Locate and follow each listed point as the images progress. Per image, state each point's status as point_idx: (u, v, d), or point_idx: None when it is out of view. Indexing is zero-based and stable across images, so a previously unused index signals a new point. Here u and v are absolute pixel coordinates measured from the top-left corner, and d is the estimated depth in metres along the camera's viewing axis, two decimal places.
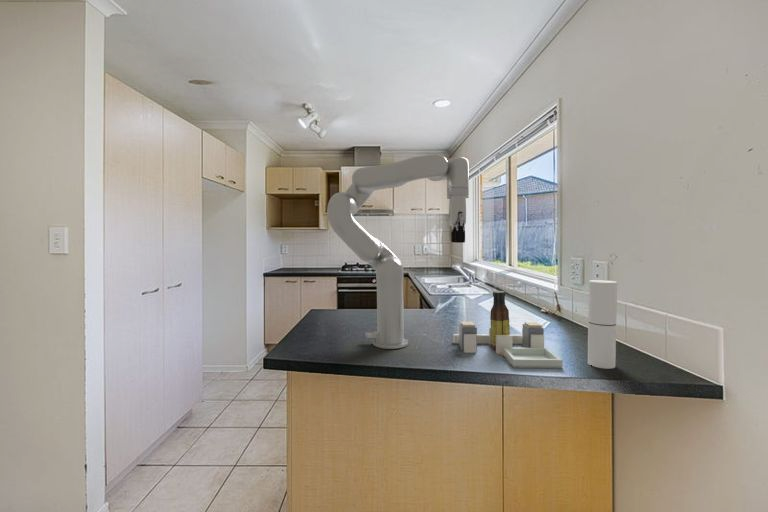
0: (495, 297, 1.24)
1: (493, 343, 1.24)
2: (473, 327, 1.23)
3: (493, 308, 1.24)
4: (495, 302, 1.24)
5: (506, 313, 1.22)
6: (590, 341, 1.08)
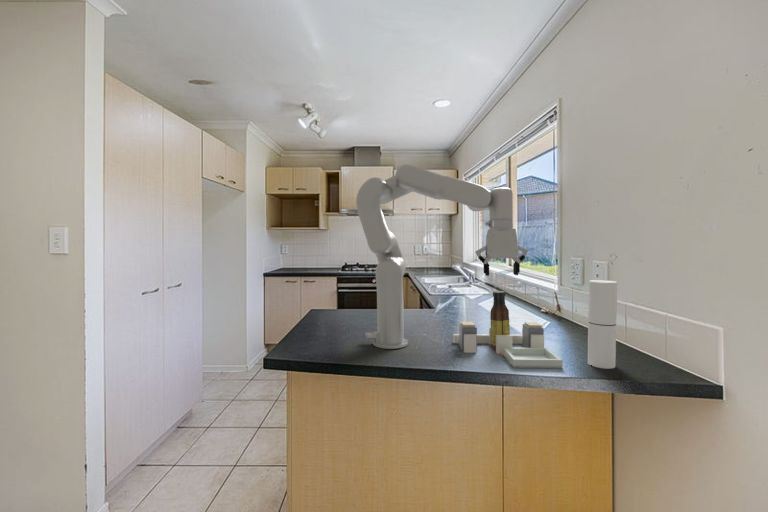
0: (495, 297, 1.24)
1: (493, 343, 1.24)
2: (473, 327, 1.23)
3: (493, 308, 1.24)
4: (495, 302, 1.24)
5: (506, 313, 1.22)
6: (590, 341, 1.08)
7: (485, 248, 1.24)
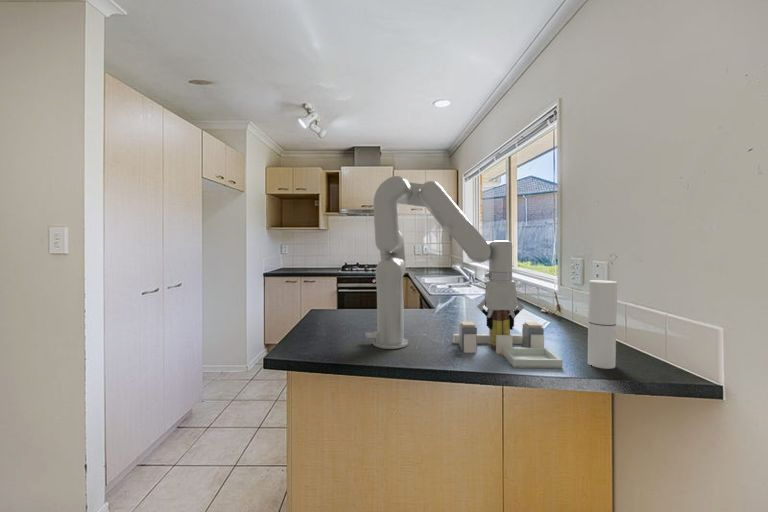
0: None
1: (493, 343, 1.24)
2: (473, 327, 1.23)
3: None
4: None
5: (506, 313, 1.22)
6: (590, 341, 1.08)
7: (485, 301, 1.24)
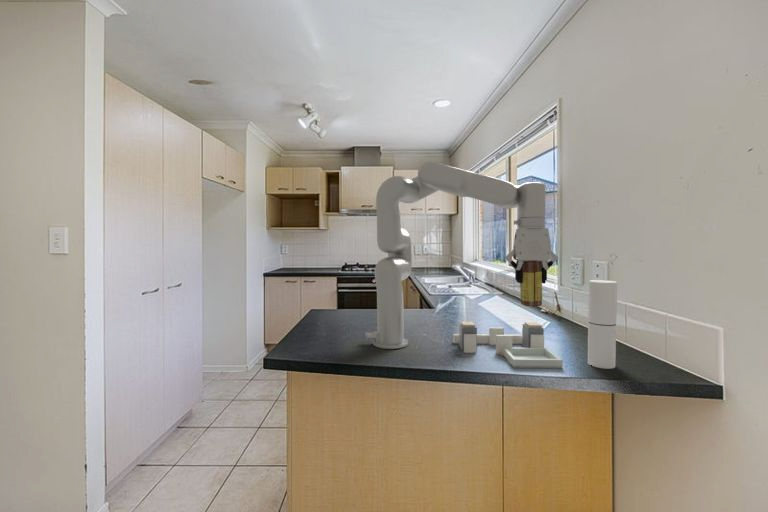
0: None
1: (523, 298, 1.10)
2: (473, 327, 1.23)
3: None
4: None
5: (539, 264, 1.08)
6: (590, 341, 1.08)
7: (514, 251, 1.10)
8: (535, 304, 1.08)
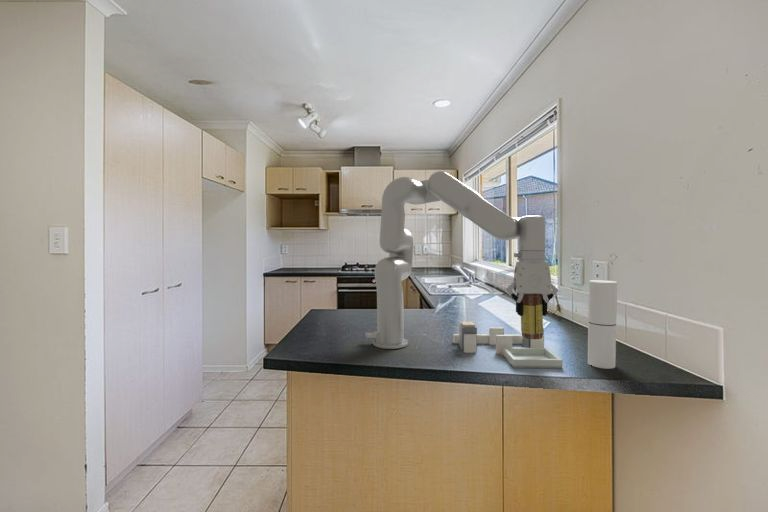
0: None
1: (524, 331, 1.10)
2: (473, 327, 1.23)
3: None
4: None
5: (539, 297, 1.09)
6: (590, 341, 1.08)
7: (515, 284, 1.11)
8: (536, 337, 1.09)
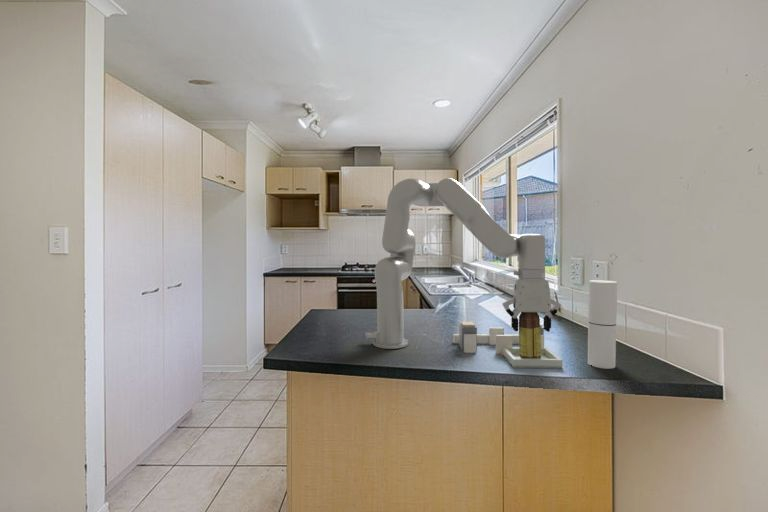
0: None
1: (522, 353, 1.11)
2: (473, 327, 1.23)
3: (522, 314, 1.11)
4: None
5: (537, 320, 1.09)
6: (590, 341, 1.08)
7: (513, 300, 1.11)
8: None
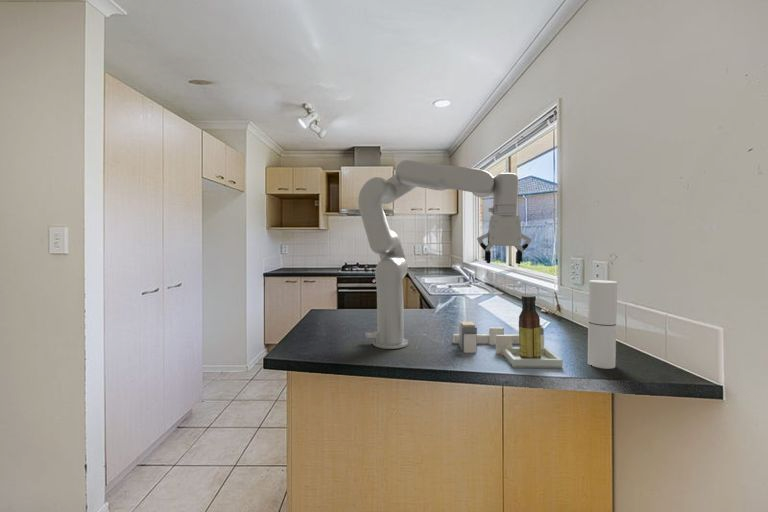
0: (524, 302, 1.10)
1: (522, 353, 1.11)
2: (473, 327, 1.23)
3: (522, 314, 1.11)
4: (524, 307, 1.10)
5: (537, 320, 1.09)
6: (590, 341, 1.08)
7: (487, 235, 1.20)
8: None
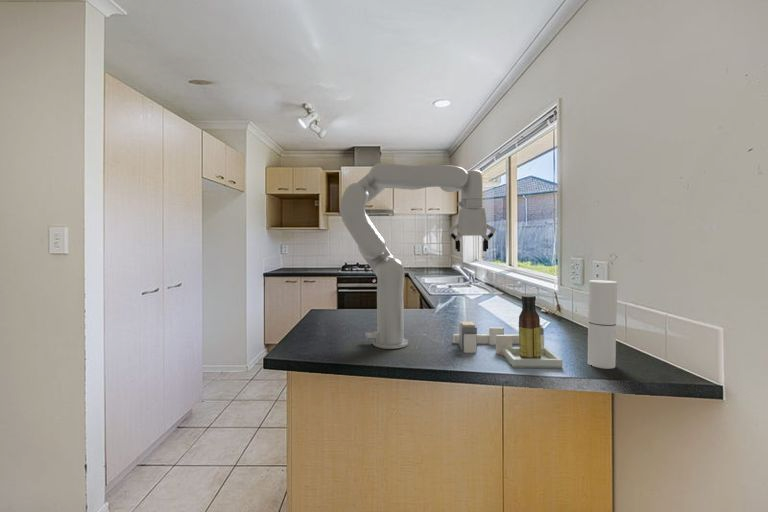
0: (524, 302, 1.10)
1: (522, 353, 1.11)
2: (473, 327, 1.23)
3: (522, 314, 1.11)
4: (524, 307, 1.10)
5: (537, 320, 1.09)
6: (590, 341, 1.08)
7: (457, 226, 1.34)
8: None
